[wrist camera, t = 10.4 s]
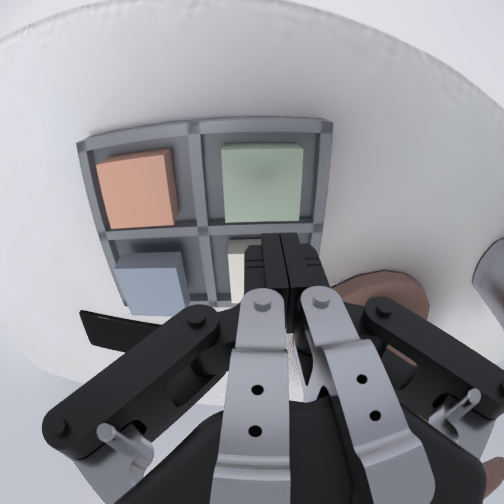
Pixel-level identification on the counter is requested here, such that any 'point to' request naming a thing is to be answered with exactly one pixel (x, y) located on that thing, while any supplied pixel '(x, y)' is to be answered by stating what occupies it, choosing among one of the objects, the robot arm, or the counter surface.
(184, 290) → the slate key
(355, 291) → the hourglass
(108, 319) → the smartphone
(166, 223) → the terracotta key
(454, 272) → the counter surface
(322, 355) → the robot arm
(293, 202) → the sage key
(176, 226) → the keypad
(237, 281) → the cream key
